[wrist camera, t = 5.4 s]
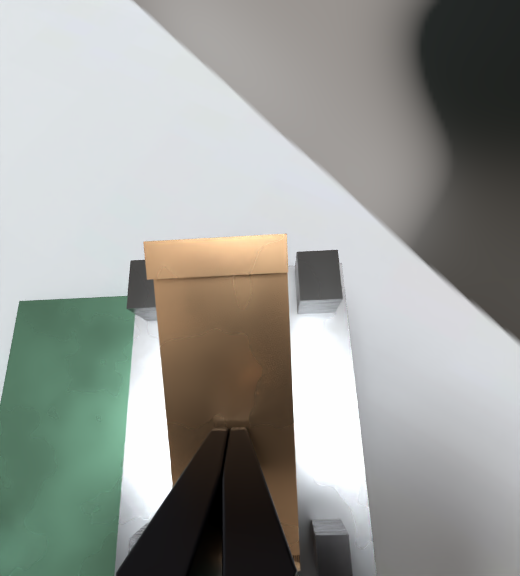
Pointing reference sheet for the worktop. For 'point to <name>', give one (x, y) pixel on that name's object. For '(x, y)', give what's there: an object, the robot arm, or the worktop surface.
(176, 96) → the worktop surface
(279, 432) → the tan flat bar
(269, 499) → the robot arm
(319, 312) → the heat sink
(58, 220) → the worktop surface
